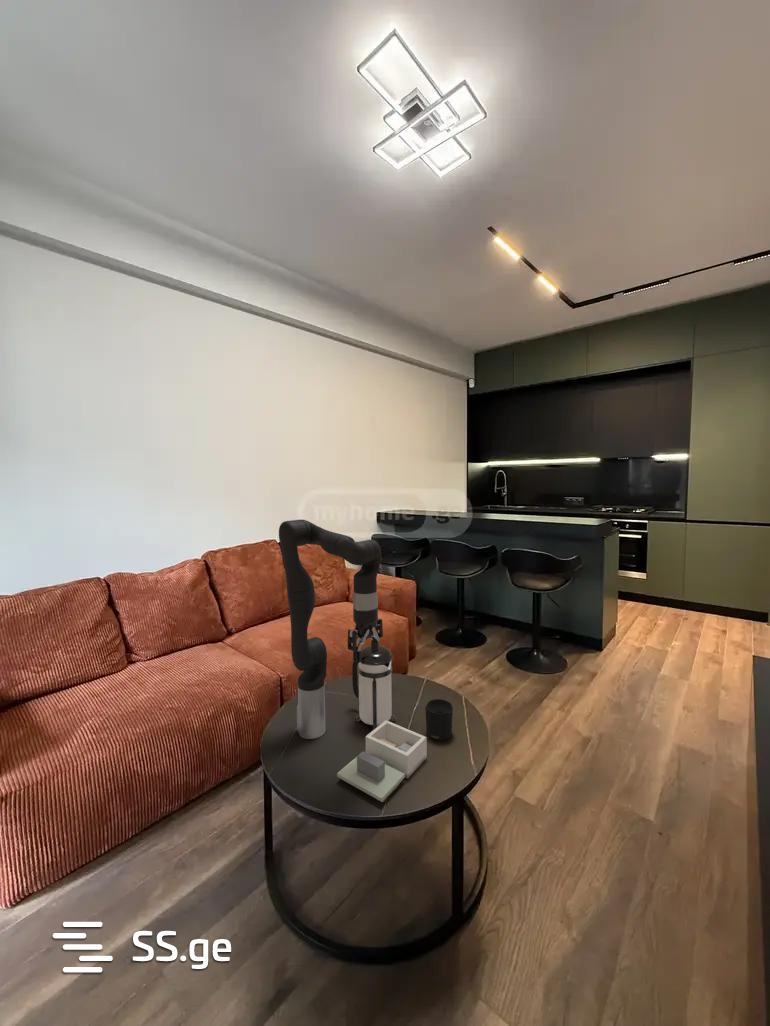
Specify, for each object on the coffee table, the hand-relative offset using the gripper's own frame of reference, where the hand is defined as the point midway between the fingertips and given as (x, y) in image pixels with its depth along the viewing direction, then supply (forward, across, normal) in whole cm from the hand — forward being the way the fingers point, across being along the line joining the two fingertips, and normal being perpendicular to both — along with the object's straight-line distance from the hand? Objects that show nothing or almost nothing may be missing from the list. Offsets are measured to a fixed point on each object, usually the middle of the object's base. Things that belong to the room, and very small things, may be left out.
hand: (366, 657), depth 126 cm
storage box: (+34, -7, +6) cm, 35 cm away
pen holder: (+34, -26, +11) cm, 45 cm away
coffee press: (+34, -19, -13) cm, 41 cm away
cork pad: (+34, +6, +6) cm, 35 cm away
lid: (+34, +6, +6) cm, 35 cm away
